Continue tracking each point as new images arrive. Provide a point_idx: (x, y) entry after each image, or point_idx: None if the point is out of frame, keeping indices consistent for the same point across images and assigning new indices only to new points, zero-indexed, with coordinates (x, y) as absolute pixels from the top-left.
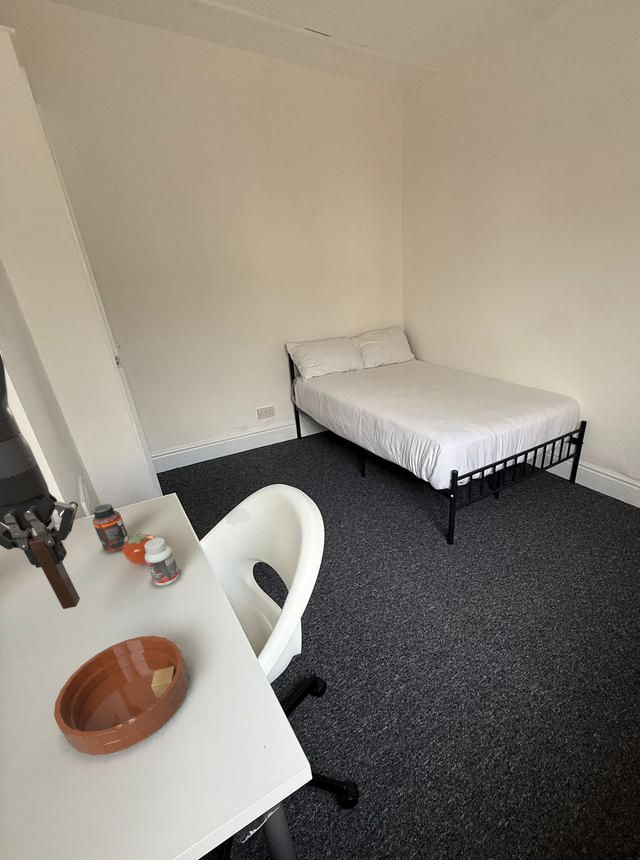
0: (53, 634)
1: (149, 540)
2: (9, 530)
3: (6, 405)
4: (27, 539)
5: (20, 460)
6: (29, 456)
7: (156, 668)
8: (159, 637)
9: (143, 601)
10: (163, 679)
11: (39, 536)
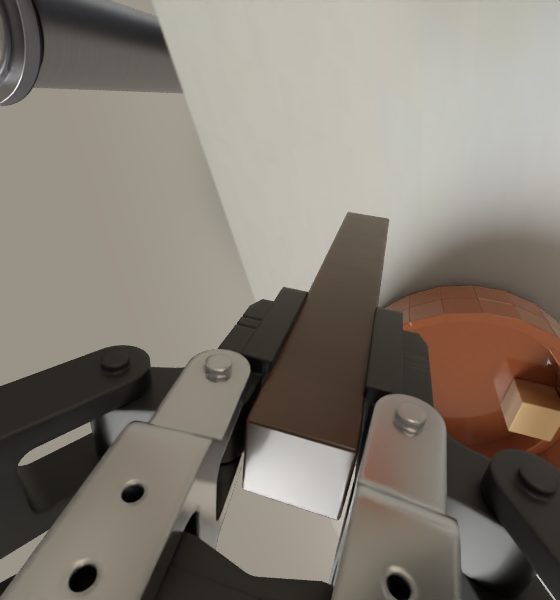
0: (272, 83)
1: None
2: (41, 435)
3: None
4: (228, 494)
5: None
6: None
7: (515, 340)
8: None
9: (531, 22)
10: (535, 430)
11: (294, 452)
